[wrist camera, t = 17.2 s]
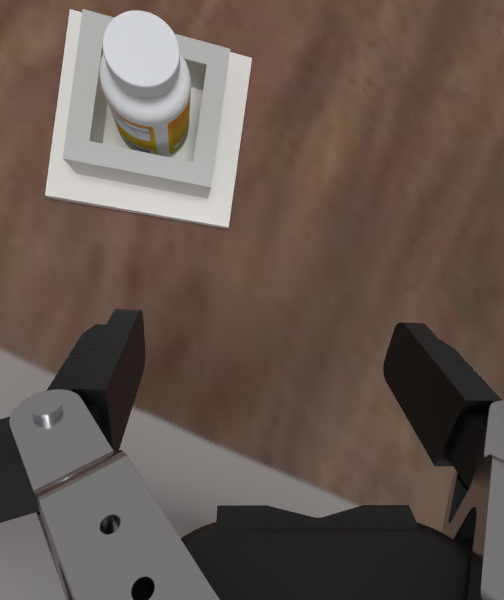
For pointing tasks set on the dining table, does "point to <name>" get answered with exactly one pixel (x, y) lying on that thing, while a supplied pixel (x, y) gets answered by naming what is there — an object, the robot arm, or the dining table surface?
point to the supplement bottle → (146, 83)
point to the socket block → (140, 165)
